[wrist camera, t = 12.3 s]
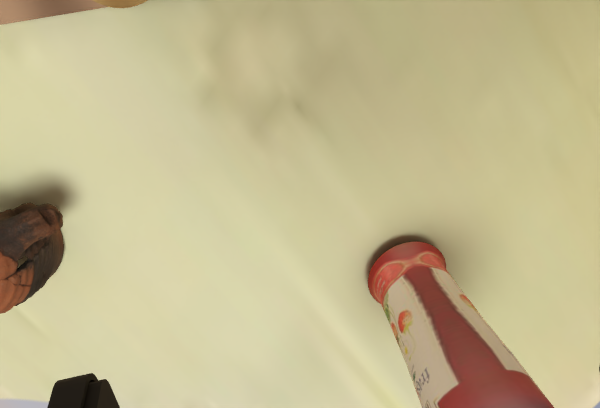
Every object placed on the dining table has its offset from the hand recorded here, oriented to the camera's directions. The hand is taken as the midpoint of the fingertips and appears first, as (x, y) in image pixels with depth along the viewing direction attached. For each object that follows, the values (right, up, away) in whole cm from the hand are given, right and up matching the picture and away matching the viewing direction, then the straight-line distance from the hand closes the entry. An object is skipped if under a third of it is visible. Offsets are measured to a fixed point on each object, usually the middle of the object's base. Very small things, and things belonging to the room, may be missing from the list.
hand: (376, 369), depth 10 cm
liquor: (+7, -2, +38) cm, 39 cm away
